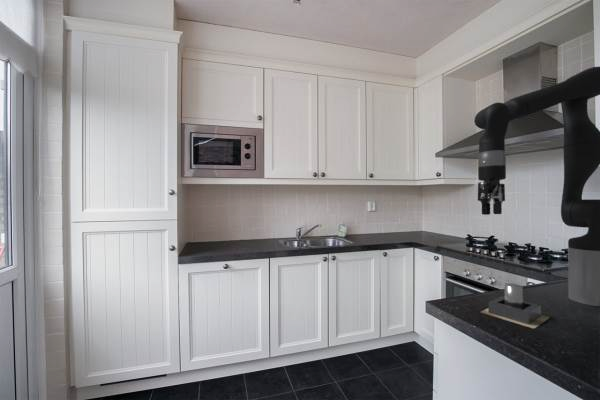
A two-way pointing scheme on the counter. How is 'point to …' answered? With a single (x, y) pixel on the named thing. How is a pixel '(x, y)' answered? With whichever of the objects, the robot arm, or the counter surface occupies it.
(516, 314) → the sleeve
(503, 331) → the counter surface
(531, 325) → the board
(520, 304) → the cylinder
